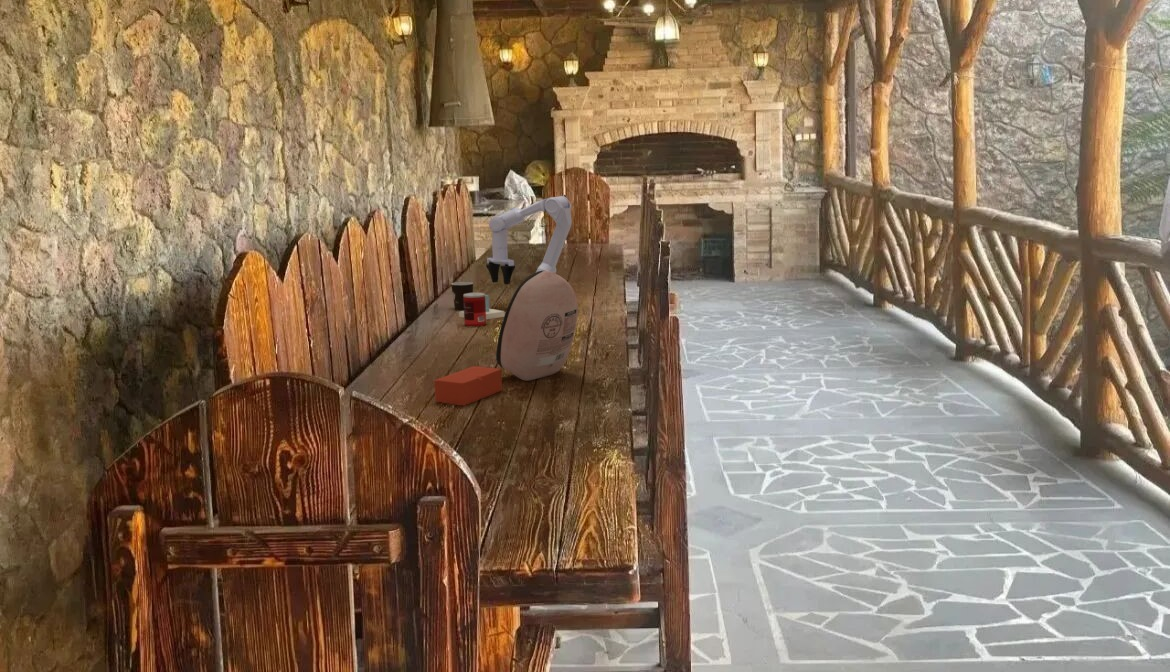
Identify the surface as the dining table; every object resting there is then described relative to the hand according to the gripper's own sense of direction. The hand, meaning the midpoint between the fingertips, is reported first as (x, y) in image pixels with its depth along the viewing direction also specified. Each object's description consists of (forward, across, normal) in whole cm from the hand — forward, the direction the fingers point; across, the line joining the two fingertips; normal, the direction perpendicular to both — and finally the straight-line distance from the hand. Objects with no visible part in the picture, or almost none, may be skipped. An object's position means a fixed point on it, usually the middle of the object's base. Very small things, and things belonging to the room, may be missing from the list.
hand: (501, 283), depth 406 cm
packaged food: (+11, +100, -62) cm, 118 cm away
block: (+8, +7, -14) cm, 18 cm away
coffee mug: (+11, -14, -8) cm, 19 cm away
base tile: (+10, +7, -14) cm, 19 cm away
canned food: (+11, +19, -26) cm, 34 cm away
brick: (+11, +103, -88) cm, 136 cm away
